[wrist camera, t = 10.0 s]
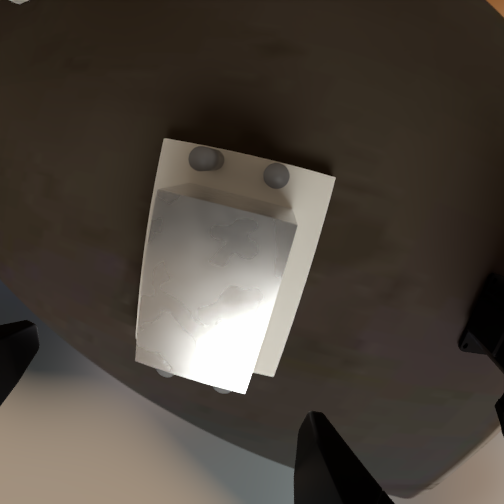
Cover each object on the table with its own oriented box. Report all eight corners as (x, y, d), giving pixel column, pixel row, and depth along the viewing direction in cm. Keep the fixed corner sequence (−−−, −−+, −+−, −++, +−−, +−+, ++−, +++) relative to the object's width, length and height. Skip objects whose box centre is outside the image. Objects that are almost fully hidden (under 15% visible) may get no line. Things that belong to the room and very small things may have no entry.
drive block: (292, 208, 17) (297, 224, 13) (252, 344, 20) (244, 393, 15) (189, 182, 17) (157, 189, 13) (164, 319, 20) (135, 360, 15)
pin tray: (332, 176, 18) (347, 179, 14) (273, 368, 21) (272, 405, 18) (169, 139, 18) (143, 133, 14) (140, 332, 22) (117, 361, 18)
